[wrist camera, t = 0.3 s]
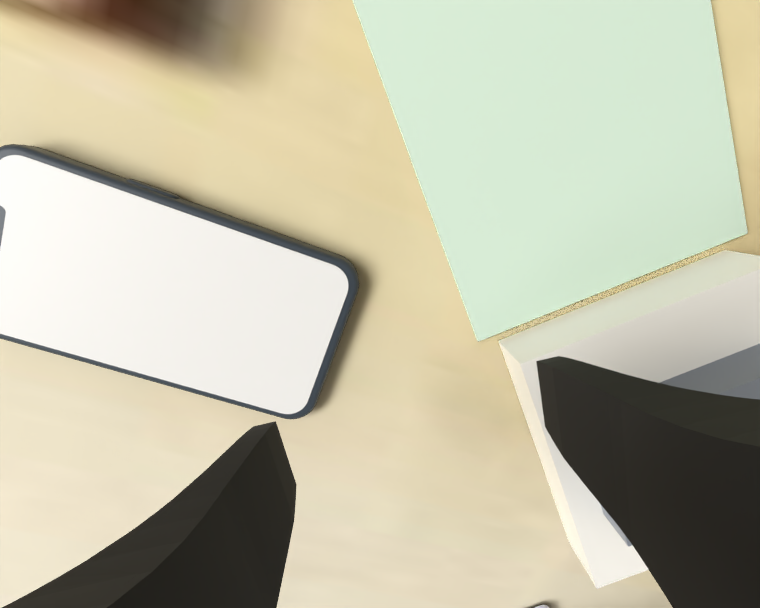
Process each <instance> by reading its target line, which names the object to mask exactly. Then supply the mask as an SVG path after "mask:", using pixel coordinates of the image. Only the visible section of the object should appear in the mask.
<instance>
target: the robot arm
mask: <svg viewBox="0 0 760 608" xmlns="http://www.w3.org/2000/svg"><path fill="white" fill-rule="evenodd" d="M536 363H537V370H538V378H539V385H540V393H541V400H542V408H543V415H544V423H545V428H546V430H547V431H548V433H549V435H550V436H551V438H552V440H553V442H554V443H555V445H556V447H557V448H558V450H559V451H560V453H561V455H562V456H563V458H564V459H565V460H566V462H567V463H568V464H569V466H570V467H571V468H572V469H573V471H574V472H575V473H576V474H577V476H578V477H579V478H580V479H581V481H582V482H583V483H584V484H585V486H586V487H587V488H588V489H589V491H590V492H591V493H592V494H593V495H594V497H595V498H596V499H597V500H598V502H599V503H600V504H601V505H602V507H603V508H604V509H605V510H606V511H607V513H608V514H609V515H610V516H611V518H612V519H613V520H614V521H615V523H616V524H617V525H618V526H619V528H620V529H621V530H622V532H623V533H624V534H625V536H626V537H627V538H628V540H629V541H630V542H631V544H632V545H633V547H634V548H635V550H636V551H637V553H638V554H639V556H640V557H641V559H642V560H643V562H644V563H645V565H646V566H647V568H648V569H649V571H650V572H651V574H652V575H653V577H654V578H655V580H656V582H657V583H658V585H659V586H660V588H661V589H662V591H663V592H664V594H665V596H666V597H667V599H668V600H669V602H670V604H671V605H672V607H673V608H760V399H750V398H741V397H733V396H726V395H719V394H713V393H707V392H702V391H696V390H690V389H685V388H680V387H675V386H670V385H666V384H662V383H658V382H653V381H649V380H645V379H641V378H638V377H634V376H630V375H626V374H623V373H619V372H616V371H612V370H609V369H606V368H602V367H599V366H596V365H592V364H589V363H585V362H582V361H578V360H575V359H571V358H567V357H561V356H557V357H552V358H548V359H544V360H539V361H536ZM295 500H296V482H295V479H294V476H293V473H292V470H291V467H290V464H289V461H288V458H287V455H286V452H285V449H284V446H283V442H282V439H281V436H280V433H279V430H278V427H277V424H276V422H271V423H267V424H263V425H258V426H254V427H252V428H251V429H250V430H248V431H247V432H246V433H245V434H244V435H243V436H242V437H240V438H239V439H238V440H237V441H236V442H235V443H234V444H233V445H232V446H231V447H230V448H229V449H228V450H227V451H226V452H225V453H224V454H222V455H221V456H220V457H219V458H218V459H217V460H216V461H215V462H214V463H213V464H212V465H211V466H210V467H209V468H208V469H207V470H206V471H204V472H203V473H202V474H201V475H200V476H199V477H198V478H197V479H195V480H194V481H193V482H192V483H191V484H190V485H189V486H187V487H186V488H185V489H184V490H183V491H182V492H181V493H180V494H178V495H177V496H176V497H175V498H174V499H173V500H171V501H170V502H169V503H168V504H166V505H165V506H164V507H163V508H161V509H160V510H159V511H158V512H156V513H155V514H154V515H152V516H151V517H150V518H148V519H147V520H146V521H144V522H143V523H142V524H140V525H139V526H138V527H136V528H135V529H133V530H132V531H130V532H129V533H128V534H126V535H125V536H123V537H122V538H120V539H119V540H117V541H115V542H114V543H112V544H111V545H109V546H108V547H106V548H105V549H103V550H102V551H100V552H99V553H97V554H96V555H94V556H93V557H91V558H90V559H88V560H87V561H85V562H83V563H82V564H80V565H78V566H77V567H75V568H73V569H72V570H70V571H68V572H66V573H65V574H63V575H61V576H60V577H58V578H56V579H54V580H53V581H51V582H49V583H47V584H45V585H44V586H42V587H40V588H38V589H37V590H35V591H33V592H31V593H29V594H27V595H26V596H24V597H22V598H20V599H18V600H16V601H14V602H12V603H10V604H8V605H6V606H4V607H2V608H276V607H277V602H278V597H279V592H280V587H281V582H282V578H283V573H284V568H285V563H286V558H287V553H288V548H289V543H290V538H291V533H292V528H293V523H294V514H295ZM535 608H549V606H547V605H540V606H537V607H535Z"/></svg>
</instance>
